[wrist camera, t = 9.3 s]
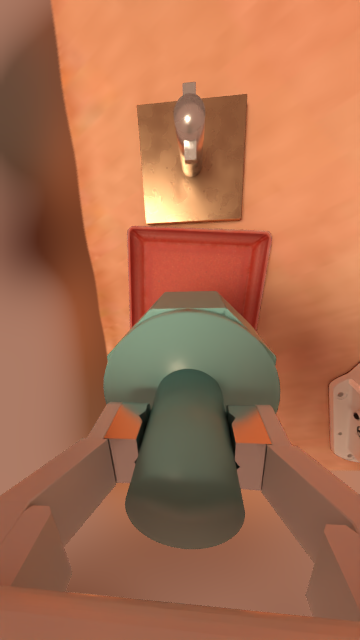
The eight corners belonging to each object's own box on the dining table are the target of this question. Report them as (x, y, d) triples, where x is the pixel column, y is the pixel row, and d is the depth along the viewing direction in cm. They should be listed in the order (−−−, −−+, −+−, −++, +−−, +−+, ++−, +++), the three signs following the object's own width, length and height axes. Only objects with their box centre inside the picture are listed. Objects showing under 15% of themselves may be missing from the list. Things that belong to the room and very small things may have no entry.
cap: (254, 290, 12) (402, 379, 3) (245, 397, 14) (321, 610, 6) (129, 292, 12) (-13, 373, 4) (140, 394, 14) (65, 584, 6)
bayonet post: (238, 220, 26) (264, 198, 17) (148, 224, 28) (121, 207, 18) (243, 104, 23) (280, -13, 13) (140, 114, 24) (100, 12, 14)
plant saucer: (133, 228, 28) (125, 225, 25) (265, 233, 27) (274, 230, 24) (136, 346, 34) (130, 355, 31) (246, 354, 33) (251, 364, 29)
